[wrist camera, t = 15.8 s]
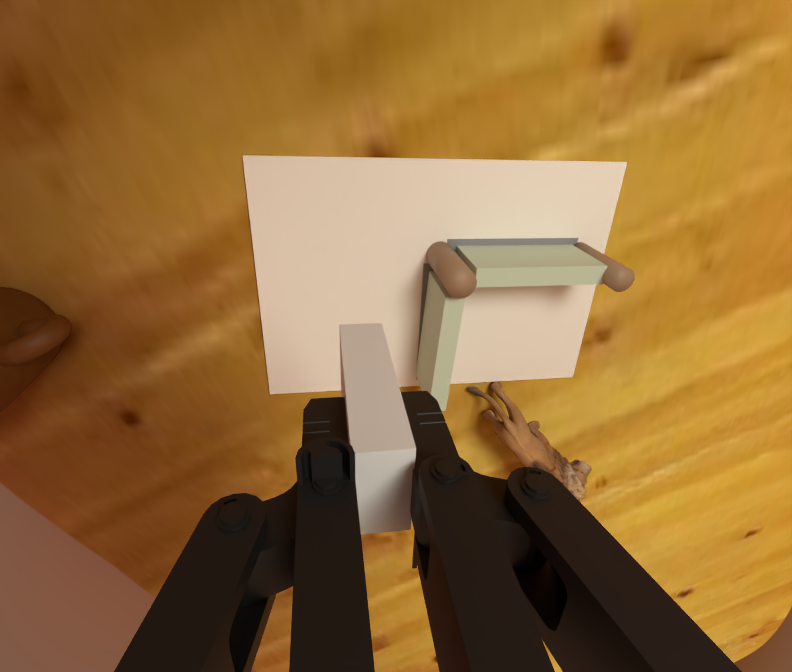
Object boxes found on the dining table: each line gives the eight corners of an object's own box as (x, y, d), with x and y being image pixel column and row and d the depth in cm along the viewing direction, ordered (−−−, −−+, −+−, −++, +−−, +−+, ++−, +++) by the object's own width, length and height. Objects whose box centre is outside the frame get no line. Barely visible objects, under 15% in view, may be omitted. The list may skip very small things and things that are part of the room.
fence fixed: (427, 241, 40) (447, 269, 34) (590, 239, 42) (638, 265, 36) (425, 267, 41) (444, 299, 35) (584, 264, 44) (629, 293, 37)
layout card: (243, 155, 35) (242, 155, 35) (625, 161, 40) (627, 162, 39) (270, 392, 45) (269, 394, 45) (571, 375, 50) (572, 377, 50)
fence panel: (415, 374, 46) (428, 410, 41) (429, 271, 41) (445, 297, 36) (431, 374, 46) (445, 410, 41) (446, 271, 41) (465, 298, 36)
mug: (74, 249, 36) (3, 295, 28) (132, 327, 40) (84, 388, 32) (-62, 304, 37) (-171, 365, 29) (8, 376, 41) (-70, 448, 32)
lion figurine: (567, 430, 54) (610, 488, 46) (534, 459, 55) (570, 519, 47) (484, 368, 48) (516, 422, 40) (449, 402, 49) (474, 461, 41)
